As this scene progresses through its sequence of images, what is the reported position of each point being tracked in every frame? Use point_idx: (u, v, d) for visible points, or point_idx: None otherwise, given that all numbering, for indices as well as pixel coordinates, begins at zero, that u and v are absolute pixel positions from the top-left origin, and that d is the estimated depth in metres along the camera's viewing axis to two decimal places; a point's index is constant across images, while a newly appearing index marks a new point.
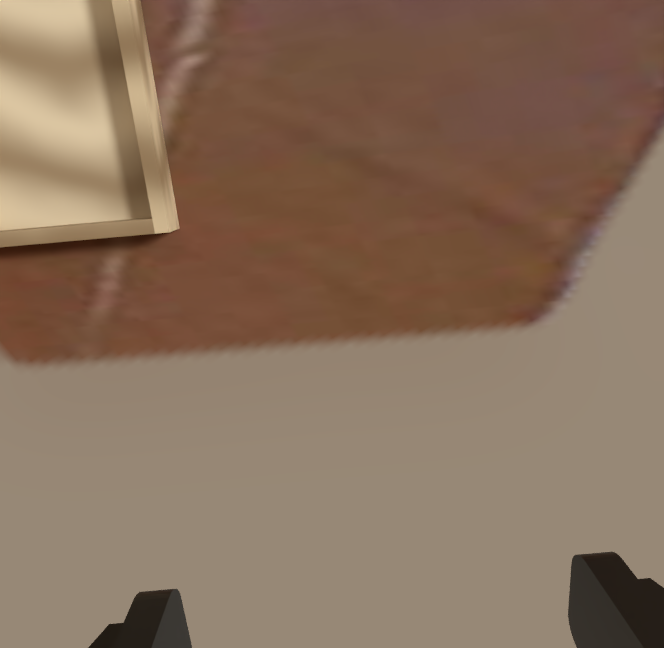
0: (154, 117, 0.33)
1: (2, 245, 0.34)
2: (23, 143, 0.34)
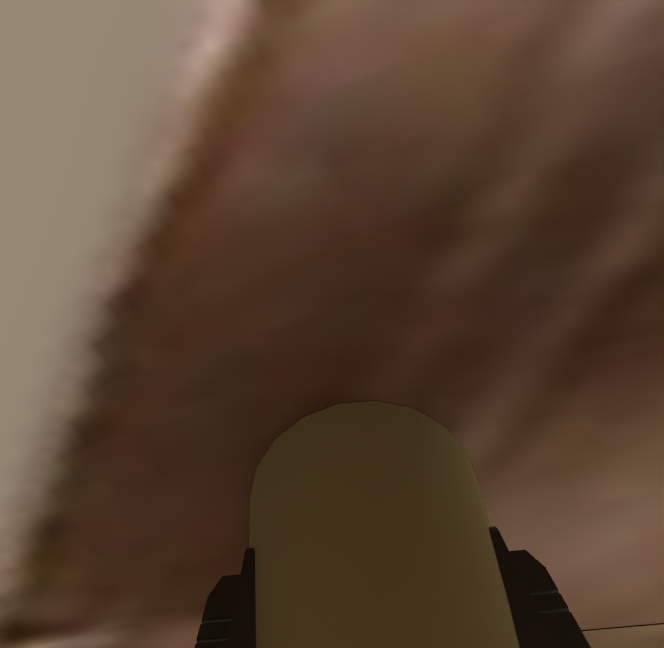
0: None
1: None
2: None
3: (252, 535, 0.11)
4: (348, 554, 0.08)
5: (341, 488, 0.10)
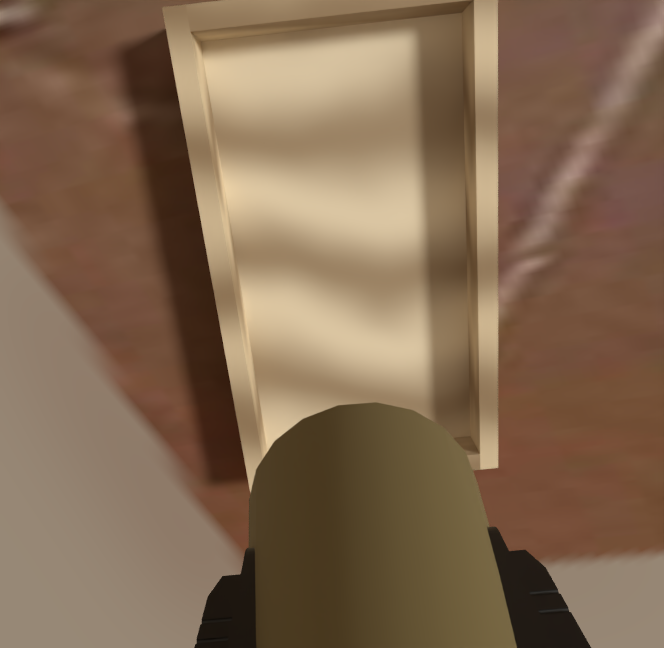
0: None
1: None
2: (320, 363, 0.28)
3: (252, 537, 0.11)
4: (348, 556, 0.08)
5: (341, 490, 0.10)
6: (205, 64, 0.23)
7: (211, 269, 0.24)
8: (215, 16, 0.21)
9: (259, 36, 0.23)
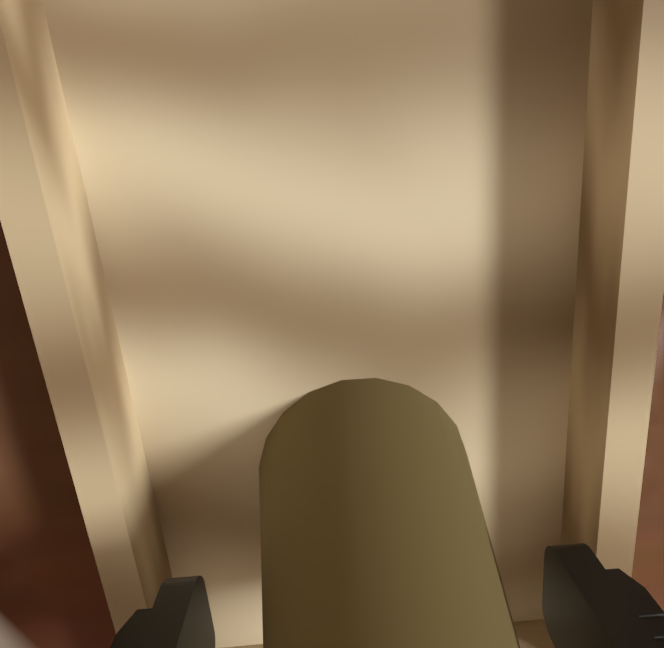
0: None
1: None
2: None
3: (263, 495, 0.12)
4: (351, 499, 0.10)
5: (345, 448, 0.11)
6: None
7: (33, 324, 0.11)
8: None
9: None
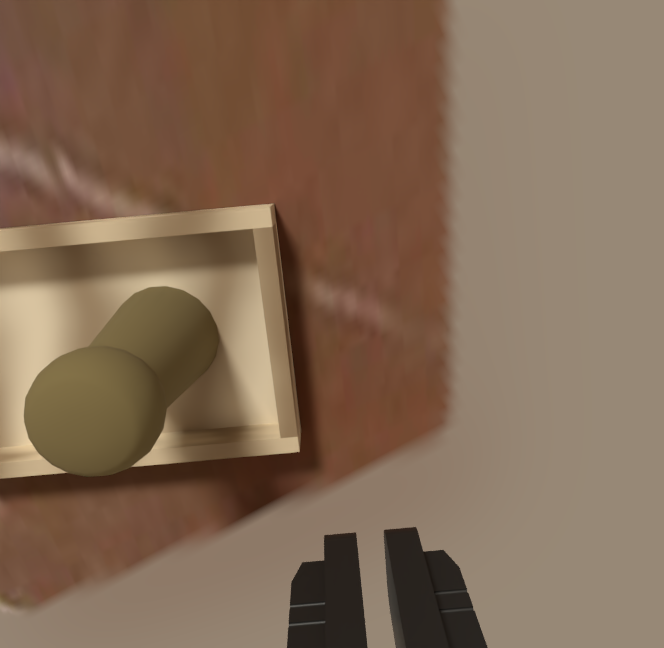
0: (132, 217, 0.26)
1: (292, 411, 0.28)
2: None
3: None
4: None
5: None
6: None
7: None
8: None
9: None
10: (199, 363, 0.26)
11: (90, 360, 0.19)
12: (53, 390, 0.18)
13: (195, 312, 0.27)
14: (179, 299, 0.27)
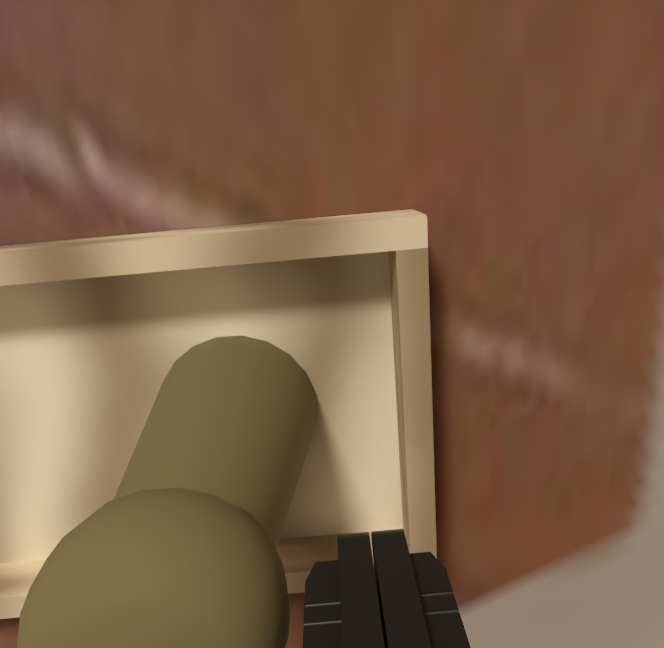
0: (196, 232, 0.16)
1: (432, 525, 0.19)
2: None
3: None
4: None
5: None
6: None
7: None
8: None
9: None
10: (302, 465, 0.16)
11: (156, 545, 0.09)
12: (79, 621, 0.08)
13: (291, 379, 0.17)
14: (267, 359, 0.17)
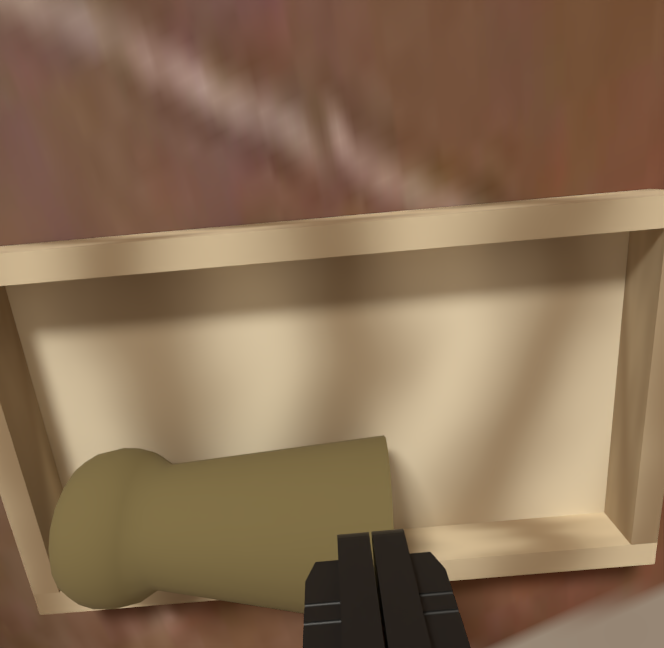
0: (452, 210, 0.16)
1: (658, 507, 0.19)
2: (469, 446, 0.20)
3: None
4: (263, 452, 0.18)
5: (305, 446, 0.18)
6: None
7: None
8: (39, 569, 0.19)
9: None
10: None
11: (60, 563, 0.15)
12: (53, 516, 0.16)
13: None
14: None
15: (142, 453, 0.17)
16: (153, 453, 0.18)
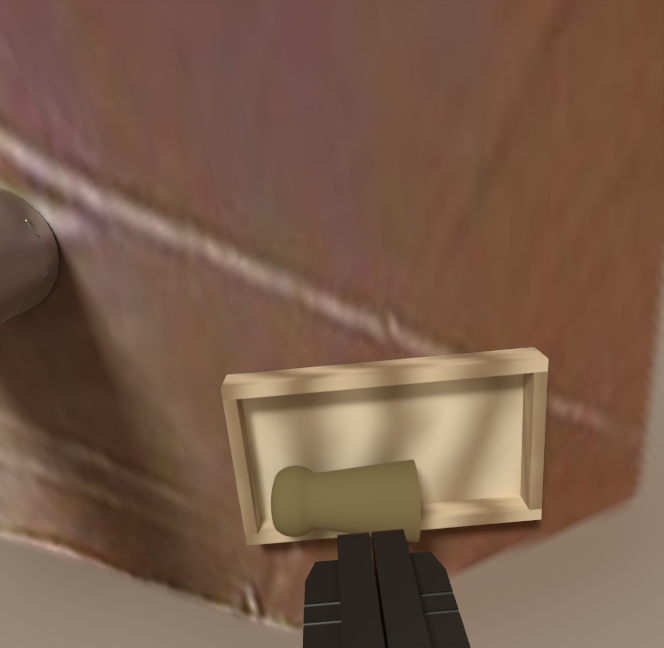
0: (443, 361, 0.38)
1: (541, 492, 0.40)
2: (453, 463, 0.41)
3: None
4: (357, 467, 0.39)
5: (376, 464, 0.39)
6: (271, 516, 0.42)
7: None
8: (250, 522, 0.40)
9: (256, 491, 0.41)
10: None
11: (280, 515, 0.36)
12: (272, 496, 0.37)
13: None
14: (403, 528, 0.36)
15: (303, 468, 0.39)
16: (307, 468, 0.39)
